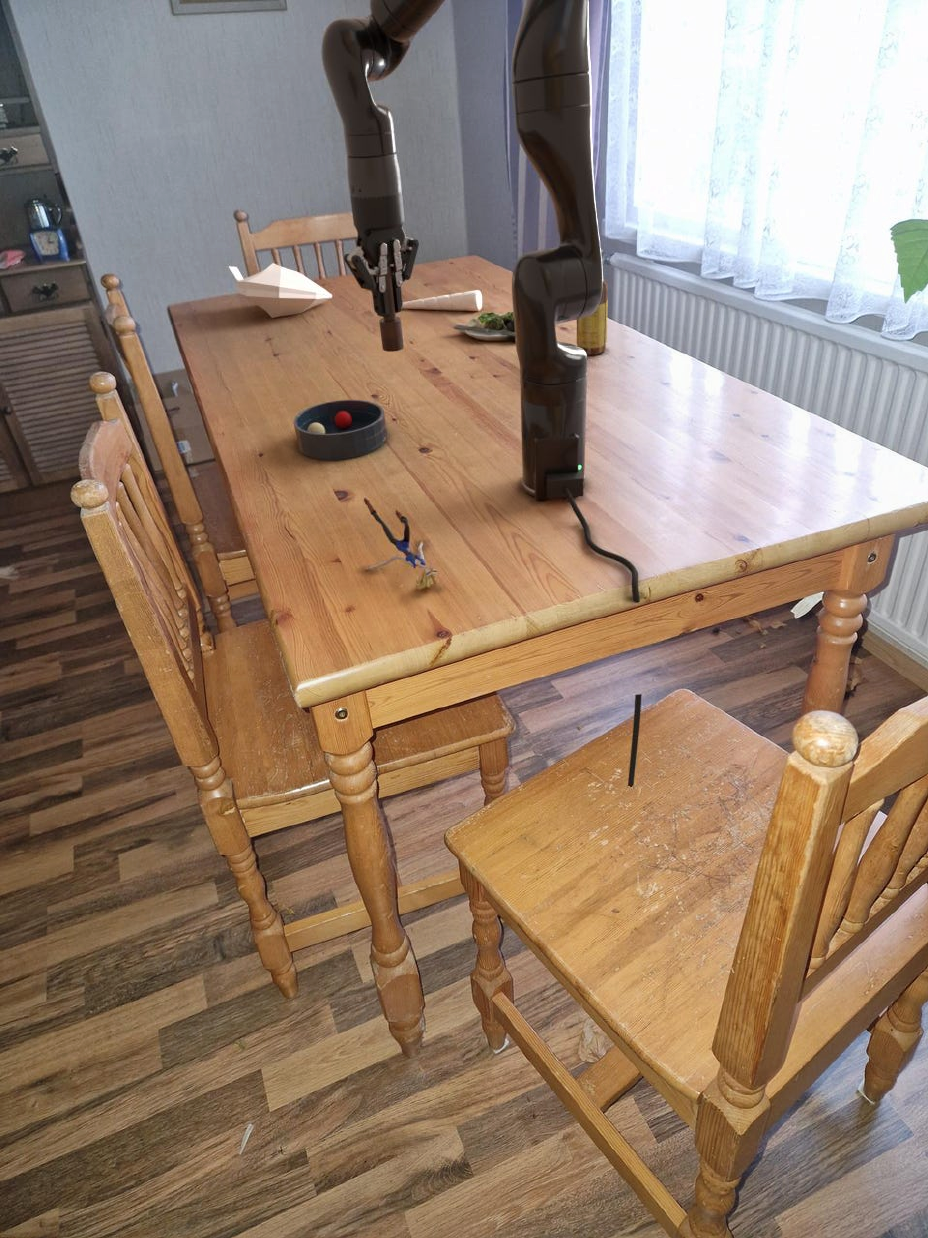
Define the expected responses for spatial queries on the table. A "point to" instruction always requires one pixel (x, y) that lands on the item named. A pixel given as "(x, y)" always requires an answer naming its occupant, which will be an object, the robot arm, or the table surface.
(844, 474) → the table surface
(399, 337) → the brown stepped wooden peg
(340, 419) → the red ball
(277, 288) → the white faceted piece
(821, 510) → the table surface
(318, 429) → the cream ball
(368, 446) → the bowl
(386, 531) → the figurine
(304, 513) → the table surface
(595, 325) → the sauce bottle
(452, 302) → the unicorn horn
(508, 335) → the salad plate
